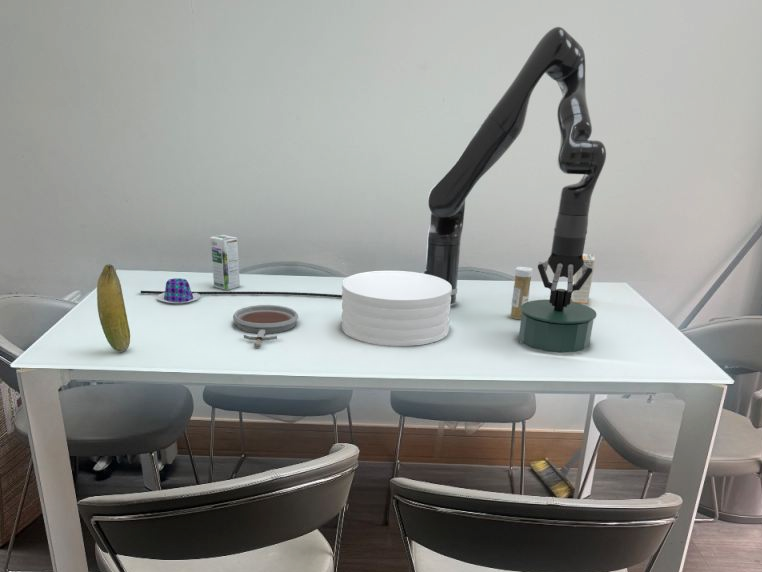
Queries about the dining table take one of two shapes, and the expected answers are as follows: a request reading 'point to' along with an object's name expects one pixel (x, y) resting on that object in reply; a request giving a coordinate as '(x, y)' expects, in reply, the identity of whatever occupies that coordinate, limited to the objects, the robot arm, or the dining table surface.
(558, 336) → the pot
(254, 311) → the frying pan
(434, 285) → the plate stack
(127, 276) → the dining table surface
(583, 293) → the supplement box
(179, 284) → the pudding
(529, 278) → the sprinkles bottle
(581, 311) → the pot lid
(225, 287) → the syrup box
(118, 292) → the vegetable
